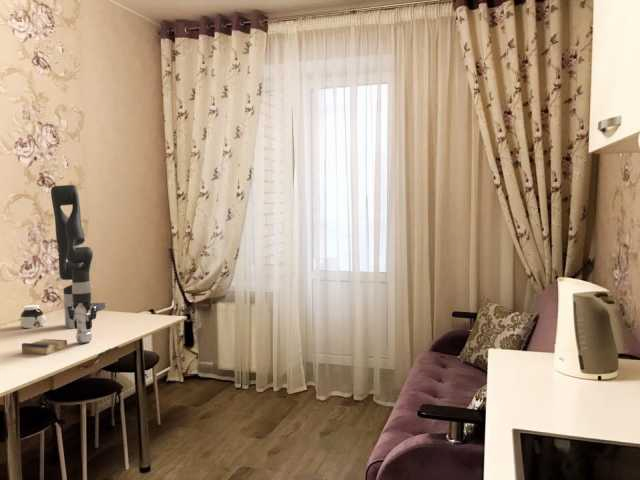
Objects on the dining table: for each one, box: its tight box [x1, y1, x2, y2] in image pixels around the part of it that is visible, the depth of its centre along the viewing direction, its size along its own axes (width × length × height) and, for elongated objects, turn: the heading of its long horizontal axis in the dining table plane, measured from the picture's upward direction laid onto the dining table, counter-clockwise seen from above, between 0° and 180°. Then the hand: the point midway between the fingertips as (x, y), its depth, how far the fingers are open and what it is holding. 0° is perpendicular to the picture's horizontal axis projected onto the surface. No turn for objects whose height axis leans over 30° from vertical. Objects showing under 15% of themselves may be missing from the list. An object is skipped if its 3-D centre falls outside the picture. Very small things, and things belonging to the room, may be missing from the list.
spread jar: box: [20, 304, 47, 330], centre depth 255 cm, size 12×11×12 cm
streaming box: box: [90, 302, 106, 312], centre depth 291 cm, size 13×13×4 cm
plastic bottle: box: [75, 303, 93, 344], centre depth 224 cm, size 6×7×20 cm
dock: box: [21, 338, 68, 356], centre depth 213 cm, size 12×12×4 cm
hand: (83, 328), depth 224 cm, fingers closed on plastic bottle, 5 cm apart
